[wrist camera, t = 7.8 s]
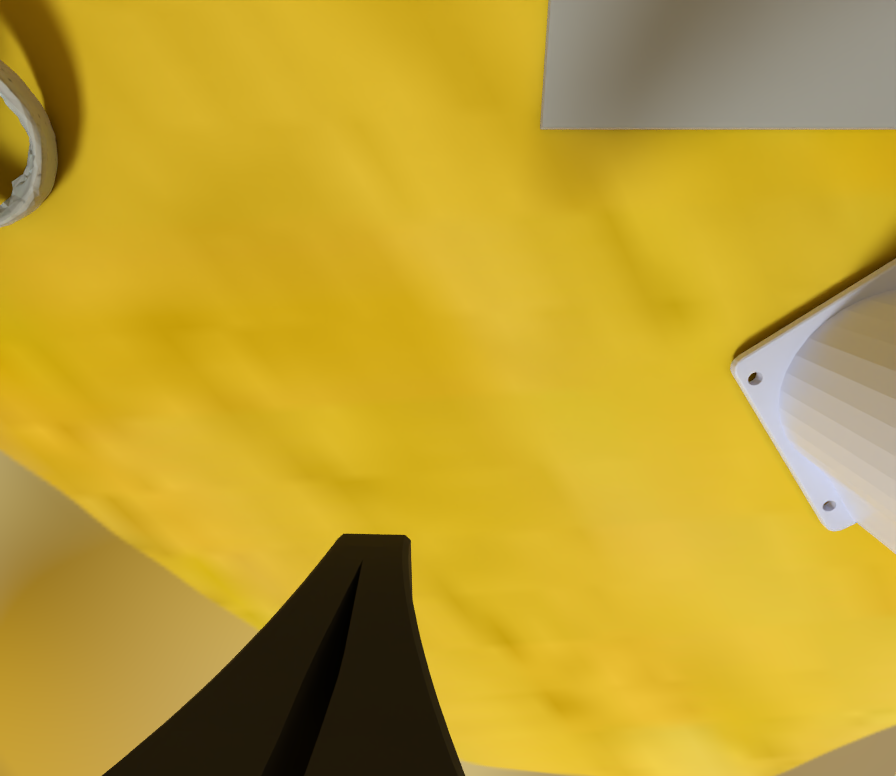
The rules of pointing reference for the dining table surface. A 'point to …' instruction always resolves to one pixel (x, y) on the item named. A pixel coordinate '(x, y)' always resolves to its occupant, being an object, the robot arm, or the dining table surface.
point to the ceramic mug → (41, 150)
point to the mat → (720, 64)
